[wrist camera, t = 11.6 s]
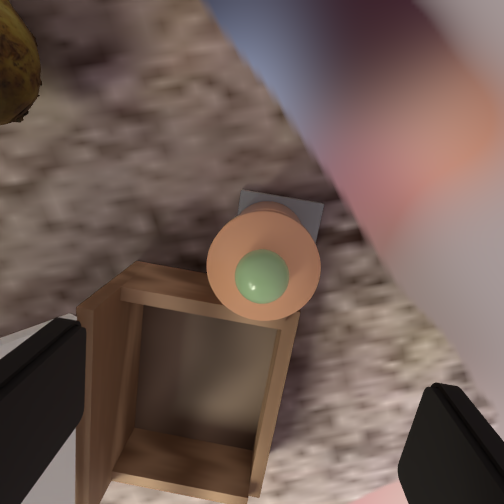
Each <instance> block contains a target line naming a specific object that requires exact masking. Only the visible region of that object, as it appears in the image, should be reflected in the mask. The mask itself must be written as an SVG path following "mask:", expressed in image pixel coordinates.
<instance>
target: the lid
mask: <svg viewBox="0 0 504 504" xmlns="http://www.w3.org/2000/svg"><path fill="white" fill-rule="evenodd" d="M60 318H66V319H72V320H77V317H76V316H74V315H72V314H71V313H69V314H66V315H63V316H61V317H60ZM52 320H53V319H52ZM52 320H49V321H46V322H44V323H41V324H38V325H35V326H32V327H30V328H27V329H24V330H21V331H18V332H16V333H13V334H10V335H7V336H4V337H1V338H0V359H1V358H3V357H4V356H5V355H7V354H8V353H9V352H11V351H12V350H13V349H15V348H16V347H17V346H19V345H20V344H21V343H22V342H24V341H25V340H26V339H28V338H29V337H30V336H32V335H33V334H34V333H36V332H37V331H38V330H40V329H41V328H42V327H44V326H45V325H46V324H48V323H49V322H50V321H52ZM75 452H76V428H75V429H74V431H73V432H72V434H71V435H70V436H69V438H68V439H67V440H66V442H65V443H64V445H63V446H62V447H61V449H60V450H59V452H58V453H57V454H56V456H55V457H54V459H53V460H52V461H51V463H50V464H49V465H48V467H47V468H46V470H45V471H44V472H43V474H42V475H41V477H40V478H39V479H38V481H37V482H36V483H35V485H34V486H33V488H32V489H31V490H30V492H29V493H28V495H27V496H26V497H25V499H24V500H23V502H22V503H21V504H75Z"/></svg>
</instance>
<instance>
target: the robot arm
mask: <svg viewBox="0 0 504 504" xmlns="http://www.w3.org/2000/svg"><path fill="white" fill-rule="evenodd" d="M86 334H87V333H86V328H85V327H81V323H80V322H79V321H77V320H72V319H66V318H60V317H57V318H55V319H53V320H52V321H50V322H49V323H48V324H46V325H45V326H44V327H42V328H41V329H40V330H38V331H37V332H36V333H34V334H33V335H32V336H30V337H29V338H28V339H26V340H25V341H24V342H22V343H21V344H20V345H19V346H17V347H16V348H15V349H13V350H12V351H11V352H9V353H8V354H7V355H5V356H4V357H3V358H1V359H0V504H21V503H22V502H23V500H24V499H25V497H26V496H27V495H28V493H29V492H30V490H31V489H32V488H33V486H34V485H35V483H36V482H37V481H38V479H39V478H40V477H41V475H42V474H43V472H44V471H45V470H46V468H47V467H48V465H49V464H50V463H51V461H52V460H53V459H54V457H55V456H56V454H57V453H58V452H59V450H60V449H61V447H62V446H63V445H64V443H65V442H66V440H67V439H68V438H69V436H70V435H71V434H72V432H73V431H74V429H75V428H76V427H77V425H78V424H79V422H80V420H81V418H82V416H83V412H84V401H85V368H86ZM398 477H399V480H400V483H401V485H402V488H403V491H404V493H405V496H406V498H407V501H408V503H409V504H504V442H503V440H502V439H501V438H500V436H499V435H498V434H497V433H496V432H495V430H494V429H493V428H492V427H491V425H490V424H489V423H488V422H487V420H486V419H485V418H484V417H483V415H482V414H481V413H480V412H479V410H478V409H477V408H476V407H475V405H474V404H473V403H472V402H471V401H470V399H469V398H468V397H467V396H466V394H465V393H464V392H463V391H462V389H461V388H459V387H458V386H453V385H447V384H442V383H433V384H432V385H431V387H427V388H426V389H425V390H424V392H423V395H422V398H421V401H420V404H419V407H418V409H417V412H416V415H415V418H414V421H413V424H412V426H411V429H410V432H409V435H408V438H407V441H406V443H405V446H404V449H403V452H402V455H401V458H400V461H399V464H398Z"/></svg>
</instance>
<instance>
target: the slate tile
mask: <svg viewBox="0 0 504 504" xmlns="http://www.w3.org/2000/svg"><path fill="white" fill-rule="evenodd" d="M262 201H272V202H277V203H280V204H283V205H285V206H287V207H288V208H290V209H291V210H292V211H293V212H294V213H295V214H296V215H297V216H298V218H299V220H300V221H301V224H302V225H303V226H304V227H305V228H306V229H307V230H308V232H309V233H310V235H311V236H312V238H313V240H314V242H315V244H316V239H317V235H318V230H319V226H320V221H321V217H322V212H323V208H324V203H320V202H314V201H309V200H303V199H297V198H291V197H285V196H279V195H273V194H267V193H262V192H256V191H250V190H244V189H242V190H241V194H240V201H239V208H238V215H239V214H240V213H241V212H242V211H243V210H244V209H245V208H247V207H248V206H250V205H252V204H254V203H257V202H262ZM238 215H237V216H238Z"/></svg>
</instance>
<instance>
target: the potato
mask: <svg viewBox="0 0 504 504" xmlns="http://www.w3.org/2000/svg"><path fill="white" fill-rule="evenodd" d="M40 73H41V67H40V59H39V55H38V50H37V43H36V40H35V37H34V36H33V34H32V33H31V32H30V31H29V30H28V28H27V27H26V25H25V24H24V22H23V21H22V19H21V18H20V17H19V15H18V14H17V12H16V11H15V10H14V9H13V7H12V5H11V4H10V2H9V1H8V0H0V125H4V124H8V123H11V122H21V121H23V120H24V119H23V117H24V116H26V115H28V112H29V111H28V110H29V109H30V108H31V106H32V105H33V103H34V101H35V100H36V99H37V97H38V96H40V95H38V93H39V87H40V85H42V81H41V79H40Z"/></svg>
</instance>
